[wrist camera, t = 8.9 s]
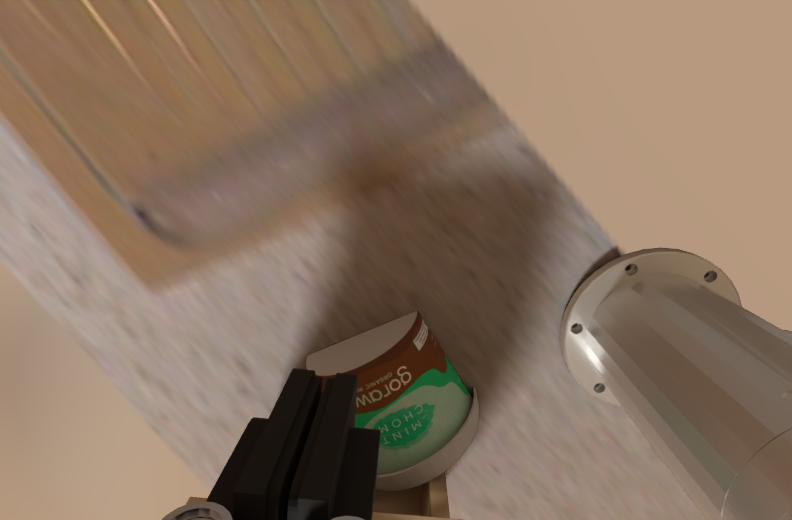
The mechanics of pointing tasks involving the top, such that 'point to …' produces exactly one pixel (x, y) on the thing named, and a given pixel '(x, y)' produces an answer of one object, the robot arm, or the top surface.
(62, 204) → the top surface
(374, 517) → the wooden stand
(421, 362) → the food container
